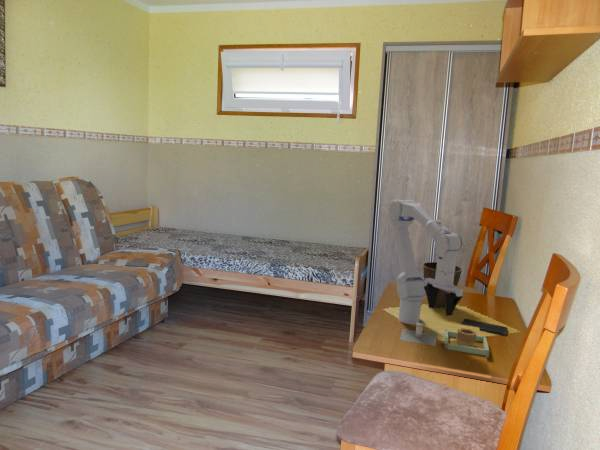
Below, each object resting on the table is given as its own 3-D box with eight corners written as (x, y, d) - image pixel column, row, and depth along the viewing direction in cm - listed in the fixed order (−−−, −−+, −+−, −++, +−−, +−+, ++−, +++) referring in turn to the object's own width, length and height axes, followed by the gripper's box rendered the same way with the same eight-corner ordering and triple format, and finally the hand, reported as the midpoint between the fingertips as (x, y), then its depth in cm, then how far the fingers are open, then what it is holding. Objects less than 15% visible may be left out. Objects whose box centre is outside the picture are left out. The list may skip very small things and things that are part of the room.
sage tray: (444, 337, 163) (445, 330, 162) (484, 343, 160) (485, 336, 159) (444, 351, 151) (445, 343, 150) (488, 358, 148) (489, 350, 147)
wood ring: (452, 343, 156) (454, 329, 155) (464, 341, 159) (466, 327, 158) (465, 350, 151) (467, 335, 151) (478, 347, 154) (479, 333, 153)
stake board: (402, 331, 166) (403, 316, 165) (435, 336, 163) (437, 321, 162) (399, 342, 155) (401, 326, 154) (435, 348, 152) (437, 332, 151)
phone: (506, 333, 168) (460, 324, 175) (505, 337, 168) (460, 327, 175) (507, 327, 175) (464, 318, 182) (507, 330, 175) (463, 321, 182)
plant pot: (459, 313, 190) (465, 272, 188) (420, 308, 192) (425, 268, 190) (454, 302, 205) (458, 264, 202) (417, 297, 207) (421, 260, 204)
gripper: (420, 265, 162) (415, 305, 164) (453, 277, 149) (448, 320, 151) (435, 264, 165) (431, 303, 167) (469, 275, 153) (464, 317, 155)
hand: (440, 311), depth 160 cm, fingers open, 7 cm apart
